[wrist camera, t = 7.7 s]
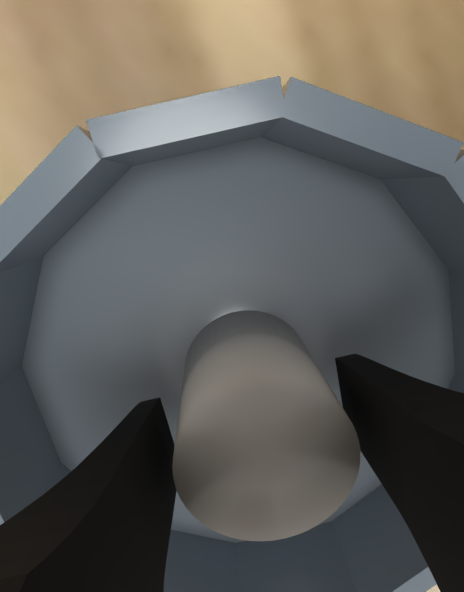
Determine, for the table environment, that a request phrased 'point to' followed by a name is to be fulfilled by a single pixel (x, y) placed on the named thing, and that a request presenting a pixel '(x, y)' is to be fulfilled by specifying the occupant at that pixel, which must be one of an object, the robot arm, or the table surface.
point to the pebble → (260, 432)
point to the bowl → (229, 295)
